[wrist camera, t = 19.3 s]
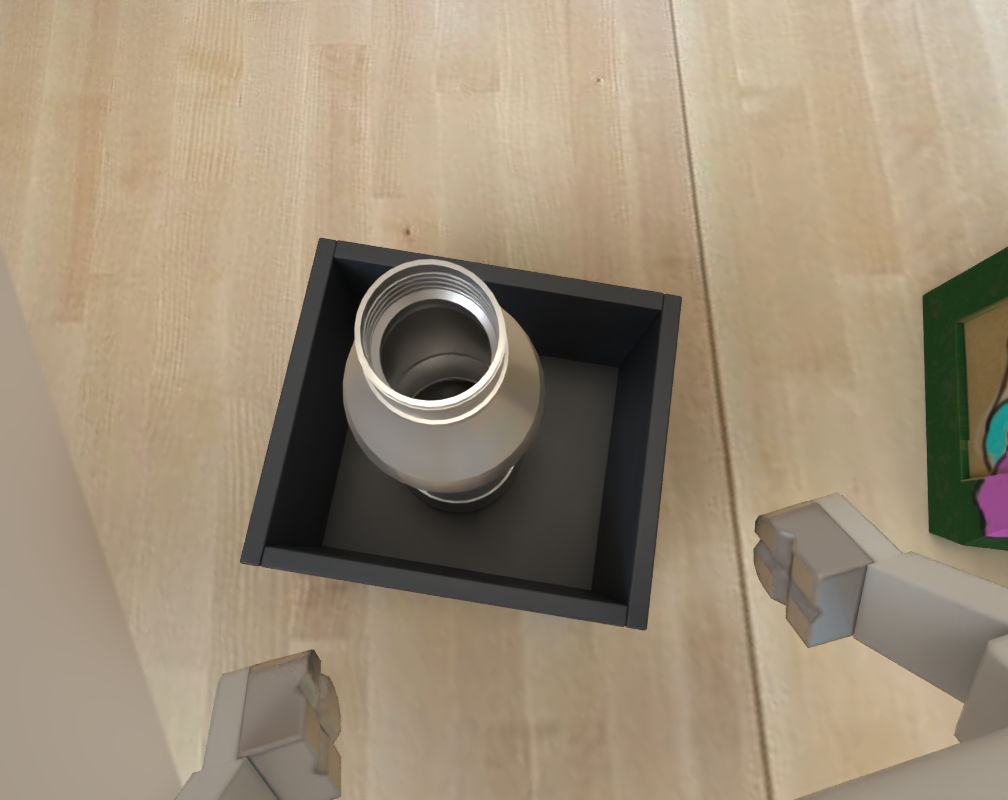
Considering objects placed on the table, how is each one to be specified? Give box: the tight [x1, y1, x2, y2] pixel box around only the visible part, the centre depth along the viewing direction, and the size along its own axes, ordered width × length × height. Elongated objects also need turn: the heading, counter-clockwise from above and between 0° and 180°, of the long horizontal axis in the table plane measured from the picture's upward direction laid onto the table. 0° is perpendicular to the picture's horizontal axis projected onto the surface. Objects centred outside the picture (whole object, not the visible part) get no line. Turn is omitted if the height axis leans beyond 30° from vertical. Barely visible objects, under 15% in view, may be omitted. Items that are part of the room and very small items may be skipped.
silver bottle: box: [343, 259, 545, 512], centre depth 25 cm, size 6×7×20 cm
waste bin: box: [240, 238, 682, 630], centre depth 31 cm, size 16×14×10 cm
